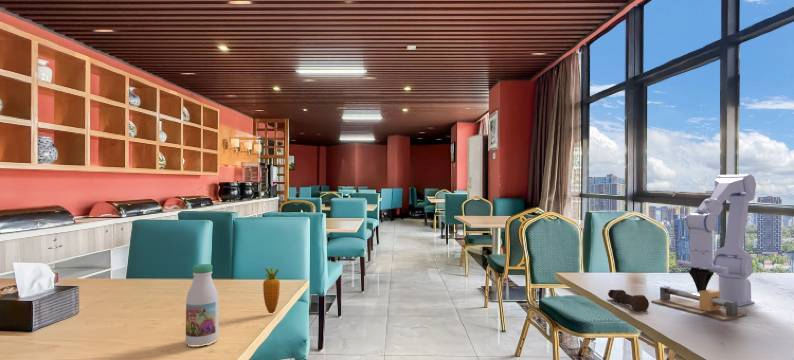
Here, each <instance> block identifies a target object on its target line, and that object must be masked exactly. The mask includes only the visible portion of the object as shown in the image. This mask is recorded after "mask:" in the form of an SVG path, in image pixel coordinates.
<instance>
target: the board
mask: <svg viewBox="0 0 794 360" xmlns="http://www.w3.org/2000/svg"><path fill="white" fill-rule="evenodd" d="M650 303H653V304H656V305H660V306H664V307H667V308H668V307H669V308H672V309H676V310H679V311H683V312H688V313H691V314H695V315H699V316H703V317H706V318H710V319H714V320H718V321H722V322H727V321H731V320H735V319H739V318H743V317H746V316H748V315H747V314H748V313H746V312H742V311H738V316H734V317H731V316H727V315H726V308H725V307H721V309H719V310H715V311H706V310H702V309H700V305H699V301H695V300H691V299H690V300H689V299H687V298H685V299H684V298H683V297H682V298H681V297H678V296H670V299H669V300H662V299H660V298H658V299H653V300H651V301H650Z"/></svg>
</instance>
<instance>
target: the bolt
mask: <svg viewBox="0 0 794 360" xmlns="http://www.w3.org/2000/svg"><path fill="white" fill-rule="evenodd" d="M607 295H608V297H609V298H610V299H613V301H614V302H615V303H617V304H626V305H628V306H631V307H632V310H633V311H634V312H638V313H641V312H644V313H645V312H646V311H647V310H648V308H649V307H650V306H649V305H650V302H649V300H648V297H646V296H645V295H644V294H637V295H635V294H634V295H630V294H629V293H628V294H627V291H625V290H623V289H609V290H608V293H607Z"/></svg>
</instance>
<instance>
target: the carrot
mask: <svg viewBox="0 0 794 360" xmlns="http://www.w3.org/2000/svg"><path fill="white" fill-rule="evenodd" d="M279 270H280V269H279V268H276V269H275V271H274V269H273V268H269V267H268V266H267V267H266V268H265V271H266V272H267V273H265V276H266V277H267V279H265V280H264V281H263V283H262V287H263V288H262V289H263V299H264V304H265V307H266V310H267V312H268V313H273V312H274V313H275V312H276V309H277V307H278V303H279V298H280V286H281V285H280V281H281V280H280V279H278V278H276V276H277V274H278V272H279ZM274 313H273V314H274Z"/></svg>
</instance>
